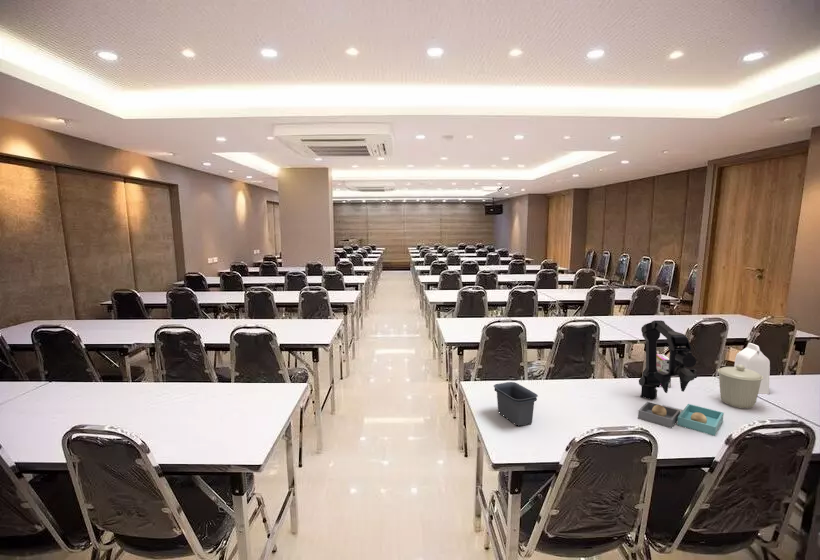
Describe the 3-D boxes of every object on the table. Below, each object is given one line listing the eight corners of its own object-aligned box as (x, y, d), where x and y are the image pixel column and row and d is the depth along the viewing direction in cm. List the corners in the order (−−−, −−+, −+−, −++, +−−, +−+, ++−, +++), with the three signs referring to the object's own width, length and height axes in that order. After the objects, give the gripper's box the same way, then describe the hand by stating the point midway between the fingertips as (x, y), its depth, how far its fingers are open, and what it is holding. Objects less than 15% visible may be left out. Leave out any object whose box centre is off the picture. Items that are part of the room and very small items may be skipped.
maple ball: (649, 417, 191) (650, 405, 190) (653, 413, 195) (654, 401, 195) (664, 421, 187) (665, 409, 186) (667, 417, 191) (668, 405, 190)
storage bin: (490, 411, 201) (490, 384, 199) (516, 406, 206) (516, 379, 205) (516, 430, 181) (516, 400, 180) (543, 424, 187) (544, 395, 185)
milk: (731, 385, 230) (734, 341, 227) (753, 385, 229) (757, 341, 226) (745, 393, 218) (749, 347, 215) (769, 394, 217) (773, 347, 214)
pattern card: (659, 409, 200) (659, 408, 200) (662, 405, 205) (662, 404, 205) (680, 415, 194) (680, 413, 194) (683, 411, 198) (683, 409, 198)
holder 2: (677, 425, 184) (677, 417, 184) (687, 411, 198) (688, 403, 197) (714, 436, 174) (715, 427, 174) (723, 420, 188) (723, 412, 187)
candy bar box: (653, 380, 239) (655, 353, 237) (662, 380, 238) (664, 354, 236) (661, 387, 228) (662, 359, 227) (670, 387, 227) (672, 360, 226)
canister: (708, 396, 216) (711, 358, 213) (746, 398, 212) (749, 360, 209) (727, 410, 198) (730, 369, 196) (769, 413, 194) (773, 371, 192)
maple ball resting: (688, 425, 183) (689, 413, 182) (691, 421, 187) (692, 408, 186) (704, 430, 179) (705, 417, 178) (707, 425, 183) (708, 412, 182)
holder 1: (637, 418, 191) (638, 410, 191) (646, 409, 201) (647, 401, 200) (671, 428, 181) (672, 419, 181) (679, 418, 191) (680, 410, 190)
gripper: (673, 367, 179) (671, 400, 181) (708, 364, 182) (706, 397, 184) (654, 359, 190) (652, 391, 192) (687, 357, 193) (685, 388, 195)
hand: (674, 392), depth 190 cm, fingers open, 9 cm apart
